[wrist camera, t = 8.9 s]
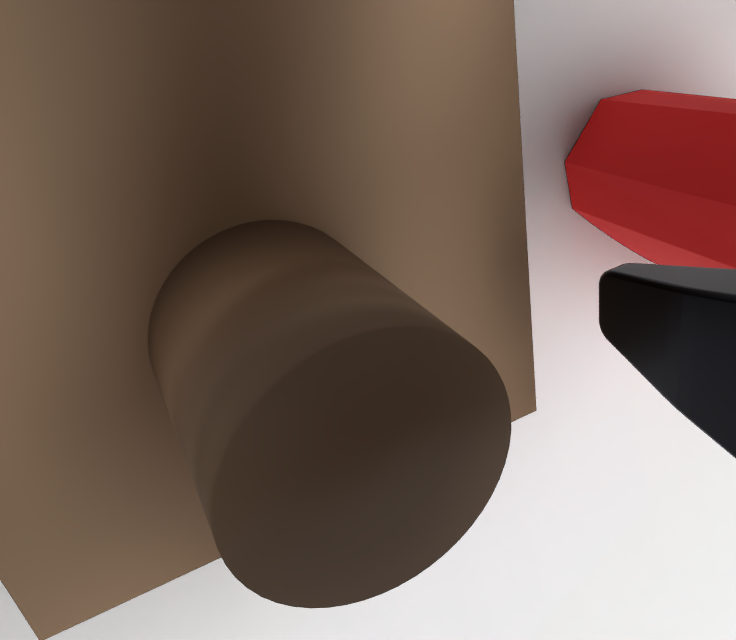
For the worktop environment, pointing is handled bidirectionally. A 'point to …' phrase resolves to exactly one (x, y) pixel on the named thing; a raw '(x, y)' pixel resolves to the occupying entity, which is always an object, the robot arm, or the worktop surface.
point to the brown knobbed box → (254, 293)
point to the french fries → (660, 176)
